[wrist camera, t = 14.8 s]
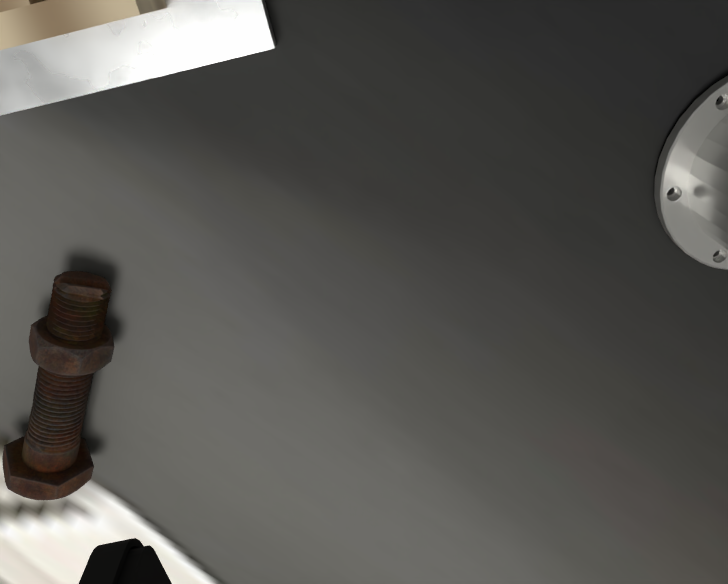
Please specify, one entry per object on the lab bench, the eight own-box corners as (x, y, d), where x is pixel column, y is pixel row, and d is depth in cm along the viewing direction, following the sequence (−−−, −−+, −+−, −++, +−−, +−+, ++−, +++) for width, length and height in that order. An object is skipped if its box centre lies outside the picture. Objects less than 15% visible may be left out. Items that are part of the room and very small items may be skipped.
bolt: (115, 259, 42) (77, 440, 48) (29, 253, 39) (-2, 448, 45) (140, 306, 38) (94, 498, 44) (46, 303, 35) (10, 510, 41)
